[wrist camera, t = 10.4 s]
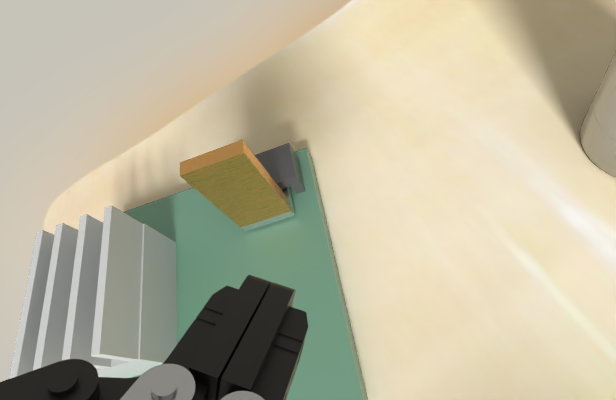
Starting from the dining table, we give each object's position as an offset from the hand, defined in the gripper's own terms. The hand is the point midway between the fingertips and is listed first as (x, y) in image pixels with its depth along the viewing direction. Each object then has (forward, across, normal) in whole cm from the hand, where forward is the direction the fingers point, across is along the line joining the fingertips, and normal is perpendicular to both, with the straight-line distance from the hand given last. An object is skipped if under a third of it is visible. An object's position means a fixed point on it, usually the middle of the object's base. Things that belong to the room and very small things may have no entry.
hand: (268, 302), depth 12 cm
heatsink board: (+19, +9, +20) cm, 28 cm away
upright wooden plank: (+24, +7, +11) cm, 28 cm away
